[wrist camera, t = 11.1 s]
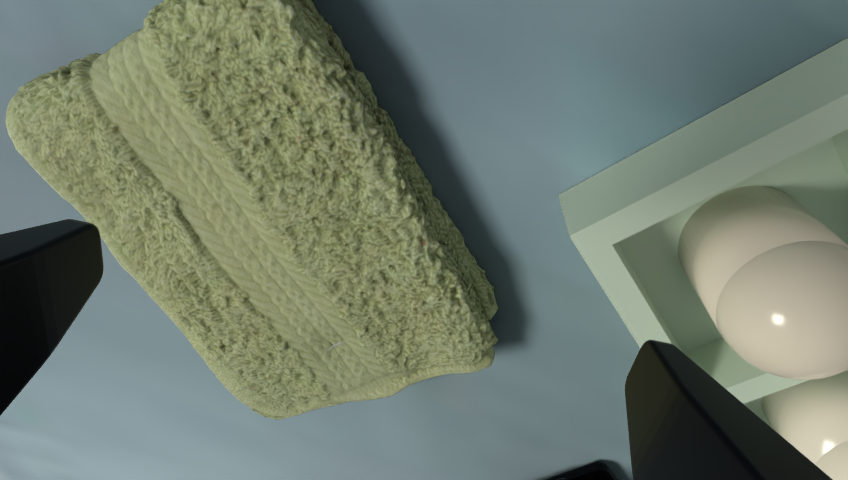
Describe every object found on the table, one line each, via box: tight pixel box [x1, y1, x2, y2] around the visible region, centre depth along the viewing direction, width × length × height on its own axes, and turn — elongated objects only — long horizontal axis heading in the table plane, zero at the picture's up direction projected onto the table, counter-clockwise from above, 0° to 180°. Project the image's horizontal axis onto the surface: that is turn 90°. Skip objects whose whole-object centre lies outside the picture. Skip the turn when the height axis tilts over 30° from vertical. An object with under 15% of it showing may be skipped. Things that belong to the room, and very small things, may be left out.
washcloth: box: [6, 0, 498, 420], centre depth 22 cm, size 13×18×3 cm
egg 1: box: [678, 186, 848, 380], centre depth 18 cm, size 4×4×6 cm
